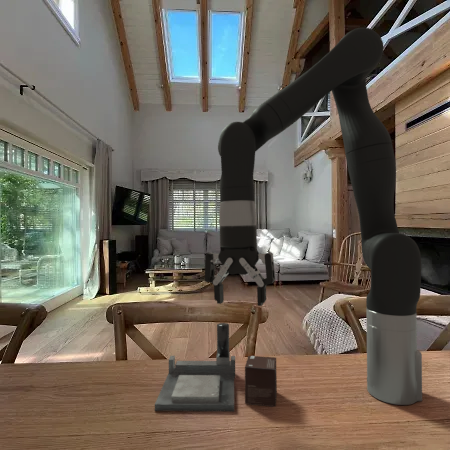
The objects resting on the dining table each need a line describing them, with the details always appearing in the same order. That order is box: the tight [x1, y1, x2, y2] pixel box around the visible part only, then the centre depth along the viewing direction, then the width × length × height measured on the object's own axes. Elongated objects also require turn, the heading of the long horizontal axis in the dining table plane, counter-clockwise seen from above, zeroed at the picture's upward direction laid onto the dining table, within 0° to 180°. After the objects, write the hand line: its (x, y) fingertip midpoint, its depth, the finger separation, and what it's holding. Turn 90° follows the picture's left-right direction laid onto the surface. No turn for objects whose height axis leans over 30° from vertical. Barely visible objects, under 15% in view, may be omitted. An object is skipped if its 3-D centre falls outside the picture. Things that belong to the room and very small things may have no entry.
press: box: [154, 355, 236, 413], centre depth 69 cm, size 15×16×4 cm
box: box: [244, 355, 278, 407], centre depth 65 cm, size 6×6×7 cm
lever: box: [215, 322, 231, 365], centre depth 75 cm, size 3×3×9 cm
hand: (239, 303), depth 66 cm, fingers open, 8 cm apart
